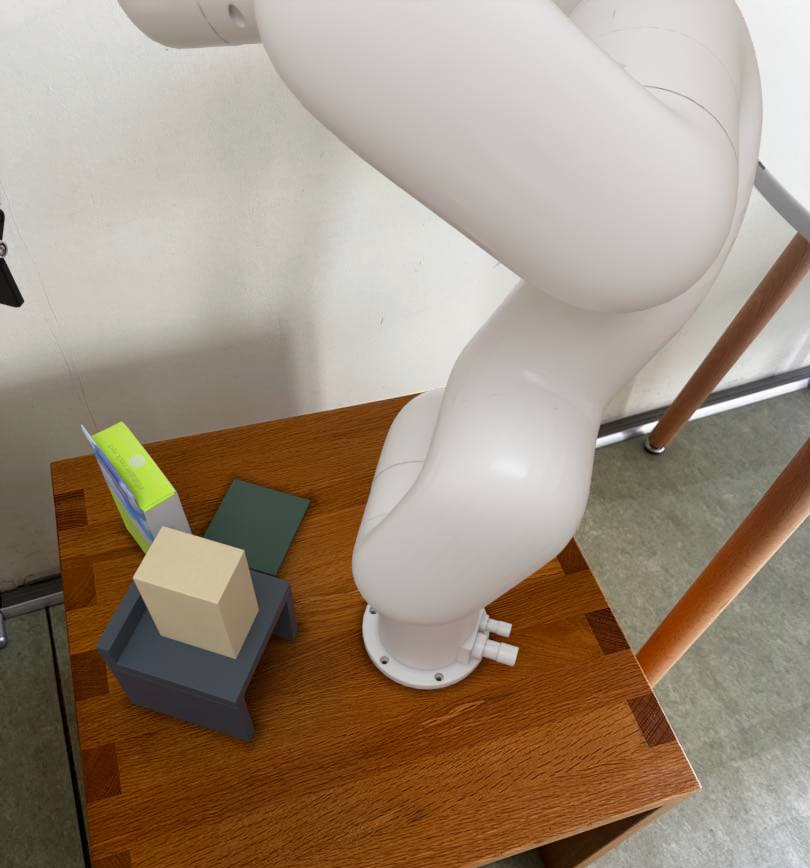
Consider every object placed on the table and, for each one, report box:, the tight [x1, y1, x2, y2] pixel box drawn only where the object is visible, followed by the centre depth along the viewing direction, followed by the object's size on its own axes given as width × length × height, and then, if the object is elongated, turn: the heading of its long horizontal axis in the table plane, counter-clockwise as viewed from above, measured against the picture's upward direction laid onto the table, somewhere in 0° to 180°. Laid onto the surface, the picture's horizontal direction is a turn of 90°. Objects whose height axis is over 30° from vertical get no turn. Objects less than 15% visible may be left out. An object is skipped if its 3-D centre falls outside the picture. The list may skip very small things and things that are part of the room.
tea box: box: [132, 526, 259, 659], centre depth 68 cm, size 5×7×10 cm
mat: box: [202, 478, 311, 578], centre depth 89 cm, size 9×10×1 cm
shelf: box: [95, 569, 299, 743], centre depth 75 cm, size 12×12×12 cm
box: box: [79, 420, 193, 555], centre depth 80 cm, size 10×4×17 cm, turn 39°
